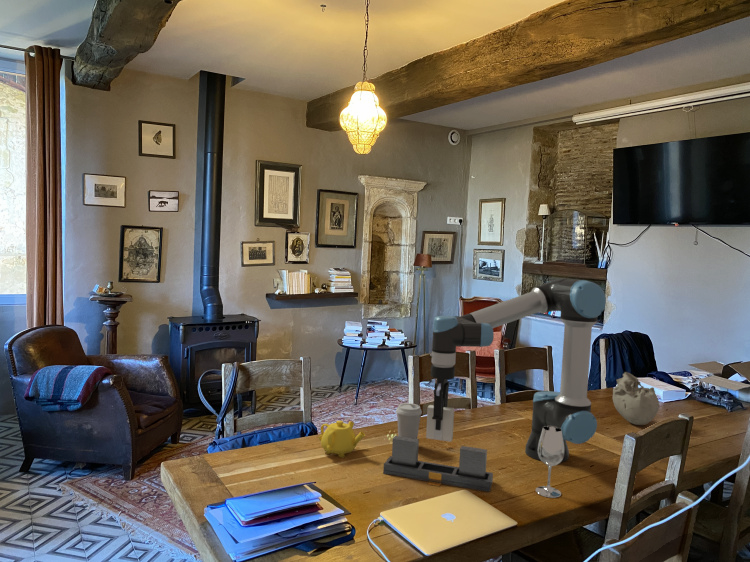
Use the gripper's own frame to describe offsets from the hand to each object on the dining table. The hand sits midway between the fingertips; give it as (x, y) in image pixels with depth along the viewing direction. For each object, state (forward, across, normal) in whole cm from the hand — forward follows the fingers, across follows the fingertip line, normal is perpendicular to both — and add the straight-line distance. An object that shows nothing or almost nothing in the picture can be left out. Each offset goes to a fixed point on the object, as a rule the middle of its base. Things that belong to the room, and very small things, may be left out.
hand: (439, 437), depth 177 cm
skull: (+13, -92, +69) cm, 116 cm away
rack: (+13, +1, 0) cm, 13 cm away
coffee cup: (+13, -23, -16) cm, 31 cm away
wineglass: (+13, -3, +34) cm, 37 cm away
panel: (0, 0, 0) cm, 0 cm away
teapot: (+14, -8, -36) cm, 39 cm away
